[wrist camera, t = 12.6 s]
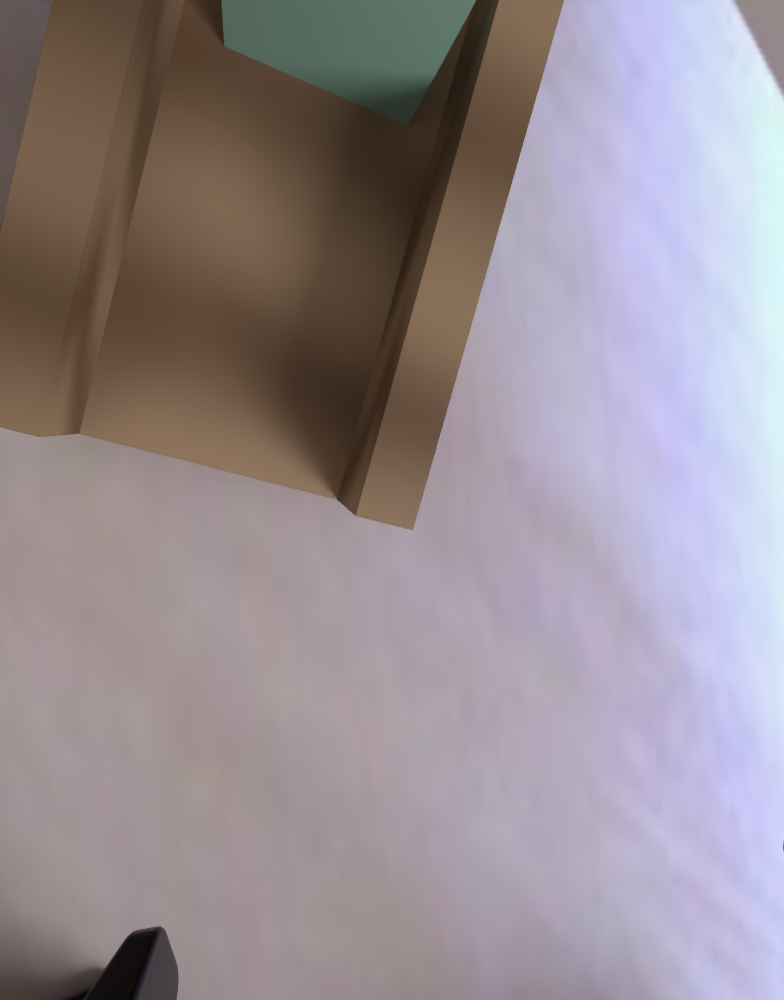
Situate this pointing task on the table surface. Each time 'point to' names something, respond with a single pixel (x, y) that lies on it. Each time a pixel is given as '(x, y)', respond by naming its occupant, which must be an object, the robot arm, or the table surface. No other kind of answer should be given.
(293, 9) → the book
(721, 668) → the table surface
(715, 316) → the table surface
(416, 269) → the tray
